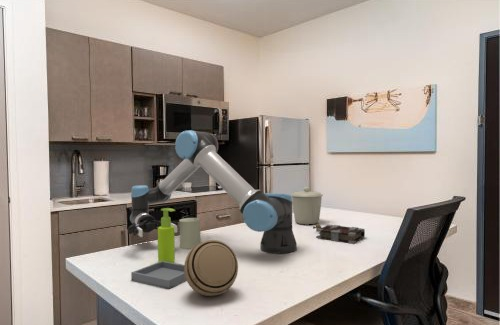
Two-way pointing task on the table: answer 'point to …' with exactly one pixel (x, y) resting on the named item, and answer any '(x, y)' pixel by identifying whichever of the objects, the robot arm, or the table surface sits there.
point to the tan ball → (211, 268)
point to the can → (189, 232)
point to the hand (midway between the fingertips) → (159, 231)
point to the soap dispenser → (166, 238)
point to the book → (340, 233)
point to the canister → (306, 206)
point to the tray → (160, 274)
